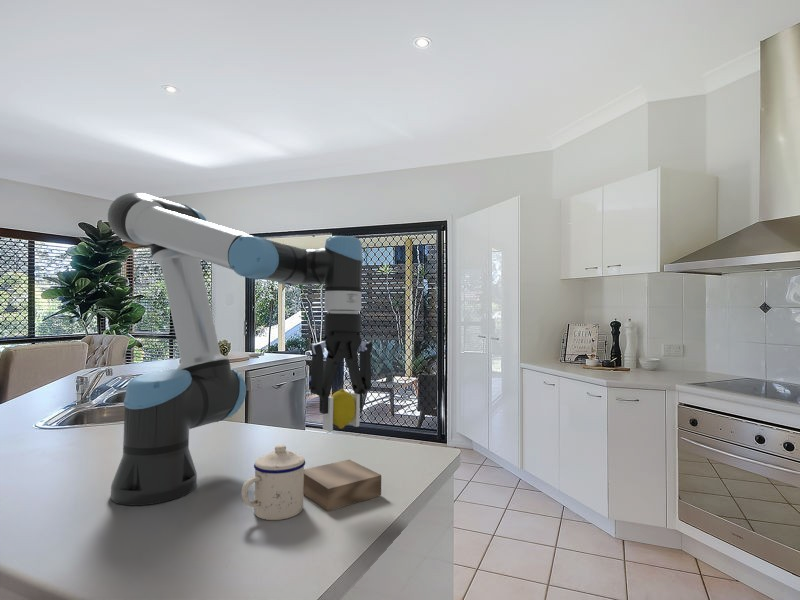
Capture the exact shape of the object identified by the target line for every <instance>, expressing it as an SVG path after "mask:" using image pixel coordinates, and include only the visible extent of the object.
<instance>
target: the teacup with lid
mask: <svg viewBox="0 0 800 600" xmlns="http://www.w3.org/2000/svg"><path fill="white" fill-rule="evenodd" d="M305 465H306V459H305V458H304V456H303V455H301V454H299V453H297V452H296V453H295V452H293V451H292V450H289V449H287V446H286V445H284V444H277V445H275V446H274V450H272V451H270V452H268V453H266V454H263V455H262V456H259V457H258V458H257V459H256V460H255V461H254V463H253V468H254V476H253V477H250V478H248V479H247V480H245V482H244V483H243V485H242V487H241V492H240V493H241V499H242V501H243V503H244V504H245V505H246V506H249V507H251V508H253V513H254V515H255V516H257V517H258V518H260V519H262V520H265V519H266V521H281V520H287V519H291V518H292V517H295V516H297V515H298V514H300V513H301V512H302V510H303V508H304V494H303V487H304V469H305ZM253 484H254V500H252V501H250V499H249V496H248V495H249V494H248V492H249V488H250V487H251V486H252V485H253Z"/></svg>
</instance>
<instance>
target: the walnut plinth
mask: <svg viewBox="0 0 800 600" xmlns="http://www.w3.org/2000/svg"><path fill="white" fill-rule="evenodd" d="M303 496H306V497H307V498H309V499H310V500H312V501H313V502H314V503H316V504H317V505H319V506H320V507H322V508H324V509H325V510H326V511H327V512H329V511H333V510H336V509H337V510H338V509H340V508H343V507H347V506H350V505H353V504H357V503H359V502H363V501H367V500H371V499H374V498H377V497H380V496H382V474H380V473H378V472H376V471H374V470H372V469H370V468H368V467H366V466H364V465H361V464H360V463H357V462H356V461H353V460H351V459H344V460H340V461H337V462H336V461H335V462H331V463H327V464H323V465H317V466H313V467H309V468H304V487H303Z"/></svg>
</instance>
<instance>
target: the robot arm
mask: <svg viewBox="0 0 800 600" xmlns="http://www.w3.org/2000/svg"><path fill="white" fill-rule="evenodd" d="M107 221H108V225H109V227H110V229H111V231H112V232H113V233H114V234H115V235H116V236H117V237H118V238H119V239H122V240H123V241H125V242H128V243H131V244H135V245H138V246H144V247H149V249H150V254H151V257H152V261H153V262H154V263H156V264H158V265H160V267H161V272H162V276H163V281H164V286H165V290H166V295H167V299H168V301H167V302H168V305H169V309H170V314H171V319H172V323H173V328H174V332H175V333H174V334H175V339H176V342H177V347H178V352H179V358H180V364H179V365H178V367H177V368H176V369H165V370H157V371H156V370H155V371H151V372H148V373H143V374H141V375H138V376H135V377H133V378H132V379H130V380H129V382H127V384H126V387H125V395H124V396H125V397H124V399H123V405H124V416H123V417H124V418H123V419H124V420H123V422H124V423H123V443H122V445H123V446H122V457H121V459H120V461H119V465H118V466H117V469H116V472H115V475H114V478H113V480H112V482H111V486H110V499H111V501H112V502H114V503H116V504H119V505H123V506H124V505H125V506H146V505H153V504H159V503H164V502H168V501H172V500H175V499H177V498H178V499H179V498H181V497H183V496H185V495H187V494H189V493H191V492H192V491H193V490H194V489H196V487H197V482H198V481H197V479H198V474H197V473H198V472H197V469H196V466H195V463H194V460H193V458H192V453H191V452H190V451H191V450H190V447H189V445H190V444H189V443H190V442H189V440H190V430H191V429H195V428H198V427H202V426H205V425H210V424H212V423H218V422H221V421H224V420H225V419H228V418H230V417H232V416H234V415H235V414H237V413H238V412H239V411H240V409H241V407H242V406H243V404H244V402H245V399H246V394H247V385H246V381H245V379H244V376H243V375H242V374H241V373H239V371H238V370H236V369H234V368H232V367H231V363H230V359H229V357H227V356H225V355H223V354H222V353H221V349H220V345H219V341H218V335H217V331H216V327H215V322H214V318H213V317H214V316H213V314H212V310H211V304H210V300H209V295H208V292H207V287H206V281H205V277H204V272H203V268H202V264H201V261H202V260H203V261H204V262H208V263H211V264H214V265H217V266H221V267H222V268H226V269H229V270H232V271H234V272H235V274H237V275H239V276H240V277H243V278H247V279H252V280H256V281H258V280H262V281H263V280H264V281H273V282H277V283H278V284H281V285H285V286H286V285H287V286H293V287H294V286H295V287H296V286H300V285H302V286H303V285H324V311H326V313H325V315H324V319H323V330H324V336H323V339H322V341H320V342H319V341H318V342H317V343H314V342H313V343H311V344H310V346H309V348H310V353H311V356H312V357H311V374H310V388H309V389H310V390H309V391H310V393H311V394H313V395H317V396H318V397H319V407H318V410H319V413H320V414H322V429H323V430H325V431H328V432H333V431H334V426H333V425H334V424H333V397H331V393H332V392H331V391H332V389H333V388H332V387H333V384H334V381H335V380H334V379H335V376H336V373H337V368H338V365H339V364H340V363H341V360H342V359H344V361H345V363H346V366H347V371H348V375H349V378H350V383H351V388H352V392H349V393H350V394H351V395H352V397H353V399H354V402H355V415H354V418H353V420H352V421H351V422H350V423H349V424H348V425H350V426H353V427H356V428H357V427H360V415H361V414H360V413H361V412H360V410H361V409H362V408H363V401H364V400H363V399H364V398H363V397H364V395H365V394H366V392H367V390H371V388H372V362H371V361H372V360H371V355H372V354H371V353H372V349H373V346H374V345H373V342H371V341H365V340H363V339H362V337H361V330H362V315H361V314H360V313H359V312H361V311H362V295H363V294H362V292H363V291H362V281H363V280H362V278H363V262H364V259H363V249H362V248H363V247H362V246H363V244H362V241H361V240H360V239H359V238H358V237H355V236H349V235H333V236H329V237H327V238H326V239H325V245H324V247H321V248H300V247H296V246H293V245H290V244H289V245H288V244H284V243H280V242H277V241H274V240H270V239H267V238H264V237H261V236H257V235H254V234H248V233H246V232H243V231H240V230H235V229H232V228H229V227H226V226H223V225H218V224H216V223H213V222H209V221H208V220H207V217H206V216H205V215H204V214H203V213H201V212H200V211H199V210H197V209H195V208H193V207H191V206H189V205H186V204H182V203H176V202H173V201H170V200H166V199H165V198H164V199H163V198H161V197H160V198H159V197H157V196H153V195H150V194H147V193H143V192H129V193H128V192H127V193H125V194H122V195H120V196H118V197H116V199H114V200H113V201H112V202H111V204H110V206H109V208H108V212H107ZM325 349H326V351H327V355H326V358H324V357H325V356H324V352H325ZM358 350H359V357H358V352H357V351H358ZM324 359H325V361H326V364H325V367H324Z"/></svg>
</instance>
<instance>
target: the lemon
mask: <svg viewBox="0 0 800 600" xmlns="http://www.w3.org/2000/svg"><path fill="white" fill-rule="evenodd" d="M350 393H351V392H348V391H346V390H344V388H340V389H339V390H338V391H337V390H336V391H335V392H334V393H333V394H332V395H330V397H333V425H335V426H337V427H338V428H339V430H340V429H341V430H342V429H344V428H345V426H347V425H350V424H349V423H350V422H351V421H352V420H353V418H354V415H355V402H354V399H353V397H352V395H351V394H350Z"/></svg>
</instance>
